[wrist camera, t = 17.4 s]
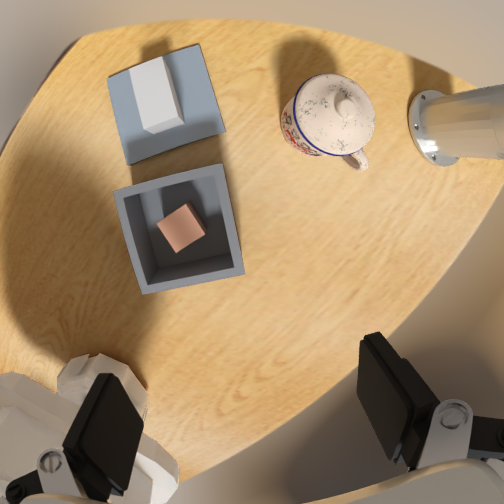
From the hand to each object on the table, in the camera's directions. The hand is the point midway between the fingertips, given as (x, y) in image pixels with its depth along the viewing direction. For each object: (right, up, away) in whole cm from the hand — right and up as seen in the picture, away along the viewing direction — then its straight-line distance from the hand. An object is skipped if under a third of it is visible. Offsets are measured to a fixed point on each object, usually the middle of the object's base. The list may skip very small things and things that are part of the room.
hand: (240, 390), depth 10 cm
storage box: (-8, +9, +26) cm, 29 cm away
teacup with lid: (+9, +21, +25) cm, 33 cm away
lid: (-11, +24, +22) cm, 35 cm away
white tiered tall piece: (-25, -18, +33) cm, 45 cm away
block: (-8, +9, +25) cm, 28 cm away
